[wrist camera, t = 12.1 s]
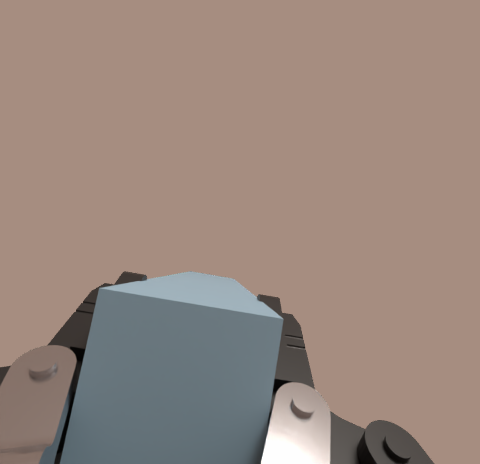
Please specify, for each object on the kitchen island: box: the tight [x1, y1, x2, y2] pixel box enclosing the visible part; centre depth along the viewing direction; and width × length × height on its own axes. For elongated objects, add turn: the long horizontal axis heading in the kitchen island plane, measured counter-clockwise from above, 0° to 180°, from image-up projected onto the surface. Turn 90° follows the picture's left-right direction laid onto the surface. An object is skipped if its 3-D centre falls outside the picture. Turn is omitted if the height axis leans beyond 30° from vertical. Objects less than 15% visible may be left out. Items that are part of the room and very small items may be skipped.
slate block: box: [60, 271, 283, 464], centre depth 17 cm, size 4×22×4 cm, turn 4°
